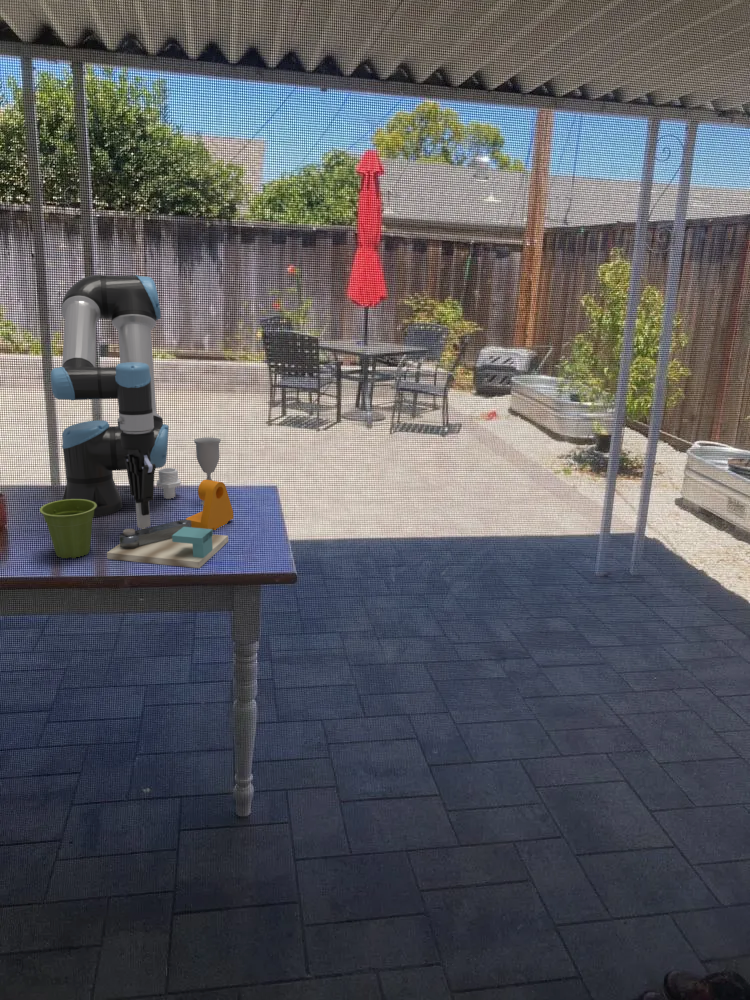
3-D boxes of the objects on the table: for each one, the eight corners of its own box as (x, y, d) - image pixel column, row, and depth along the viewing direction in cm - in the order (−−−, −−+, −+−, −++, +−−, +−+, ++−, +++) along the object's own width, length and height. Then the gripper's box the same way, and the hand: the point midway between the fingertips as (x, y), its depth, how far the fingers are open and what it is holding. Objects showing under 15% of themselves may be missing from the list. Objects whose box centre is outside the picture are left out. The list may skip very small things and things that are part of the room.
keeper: (173, 555, 165) (172, 535, 164) (184, 546, 171) (183, 526, 170) (202, 558, 164) (201, 538, 163) (213, 549, 170) (212, 529, 168)
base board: (107, 558, 167) (105, 536, 165) (143, 533, 183) (142, 513, 181) (199, 568, 163) (198, 545, 161) (228, 541, 179) (227, 520, 177)
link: (125, 550, 167) (124, 539, 167) (116, 544, 170) (115, 534, 170) (195, 532, 179) (195, 522, 179) (186, 527, 182) (185, 518, 182)
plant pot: (34, 560, 164) (28, 512, 161) (64, 542, 176) (59, 497, 172) (83, 565, 163) (78, 517, 159) (110, 546, 174) (106, 500, 170)
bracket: (210, 517, 196) (208, 473, 192) (233, 521, 193) (232, 477, 189) (184, 529, 187) (182, 483, 183) (208, 534, 184) (205, 487, 180)
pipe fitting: (186, 497, 211) (185, 470, 209) (163, 502, 206) (161, 474, 204) (175, 492, 215) (174, 465, 213) (152, 496, 211) (151, 469, 208)
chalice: (192, 505, 204) (189, 441, 199) (203, 498, 211) (200, 436, 205) (217, 507, 203) (214, 443, 197) (227, 500, 209) (225, 438, 204)
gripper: (110, 427, 175) (118, 522, 181) (132, 437, 165) (140, 537, 172) (141, 424, 179) (147, 516, 186) (164, 433, 170) (170, 530, 177)
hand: (144, 526), depth 179 cm, fingers closed
